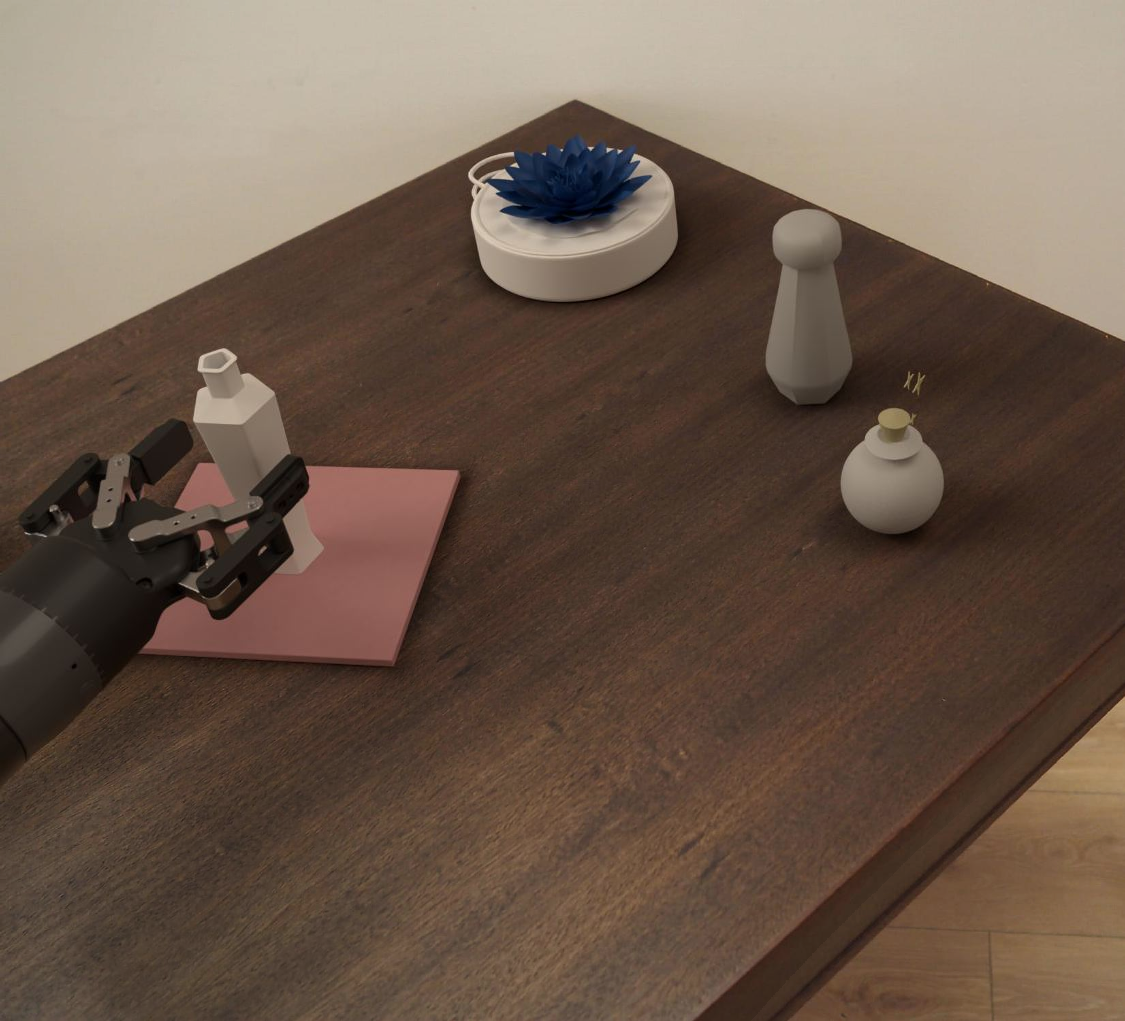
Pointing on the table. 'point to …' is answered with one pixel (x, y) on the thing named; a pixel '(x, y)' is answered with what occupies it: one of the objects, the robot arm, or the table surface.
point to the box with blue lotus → (573, 221)
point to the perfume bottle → (248, 442)
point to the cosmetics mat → (325, 572)
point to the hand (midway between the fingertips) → (241, 447)
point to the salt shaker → (808, 310)
